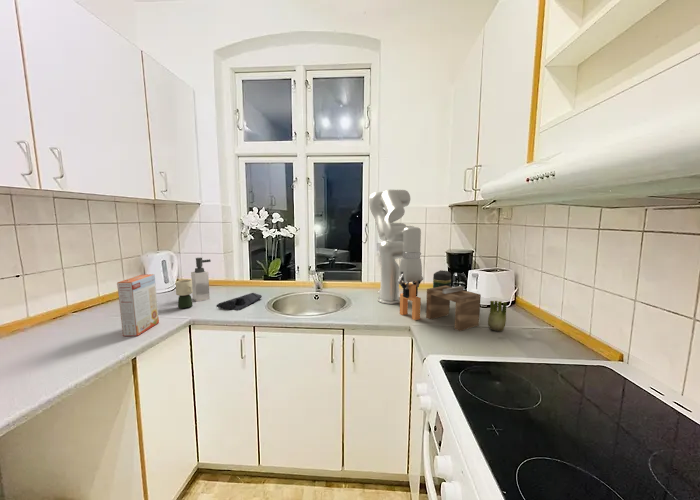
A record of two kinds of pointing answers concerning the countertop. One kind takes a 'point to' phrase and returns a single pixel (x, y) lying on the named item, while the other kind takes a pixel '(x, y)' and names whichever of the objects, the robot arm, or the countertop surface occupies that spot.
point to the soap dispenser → (200, 282)
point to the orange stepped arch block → (415, 303)
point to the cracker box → (138, 304)
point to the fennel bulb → (497, 316)
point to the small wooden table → (464, 310)
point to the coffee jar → (442, 279)
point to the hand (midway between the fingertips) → (410, 296)
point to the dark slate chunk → (239, 302)
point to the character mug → (184, 293)
